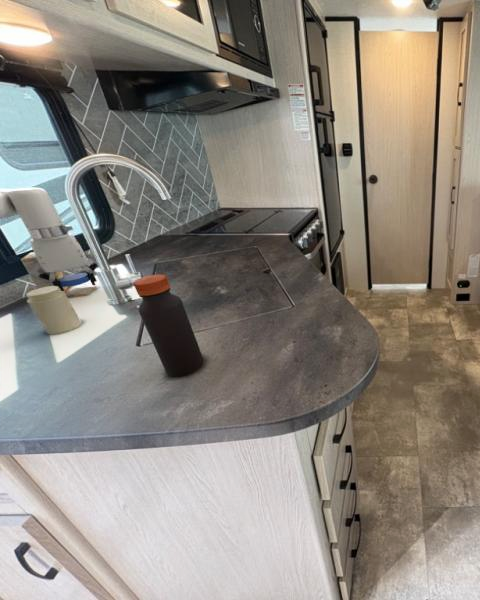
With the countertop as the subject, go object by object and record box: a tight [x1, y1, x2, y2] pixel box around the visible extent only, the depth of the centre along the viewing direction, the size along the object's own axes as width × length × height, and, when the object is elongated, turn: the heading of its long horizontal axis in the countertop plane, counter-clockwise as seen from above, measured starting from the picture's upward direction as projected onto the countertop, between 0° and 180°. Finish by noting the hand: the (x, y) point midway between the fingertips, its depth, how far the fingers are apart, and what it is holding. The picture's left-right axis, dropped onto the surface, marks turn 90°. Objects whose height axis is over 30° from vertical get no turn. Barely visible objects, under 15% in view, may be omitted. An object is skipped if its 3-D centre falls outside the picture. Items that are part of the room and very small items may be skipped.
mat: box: [65, 285, 98, 298], centre depth 101 cm, size 6×6×1 cm
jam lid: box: [58, 272, 90, 288], centre depth 99 cm, size 7×7×2 cm
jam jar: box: [25, 286, 82, 335], centre depth 79 cm, size 7×7×11 cm
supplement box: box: [20, 251, 69, 293], centre depth 98 cm, size 8×5×13 cm, turn 34°
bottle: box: [132, 273, 205, 378], centre depth 61 cm, size 7×7×20 cm
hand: (78, 287), depth 100 cm, fingers closed on jam lid, 6 cm apart
